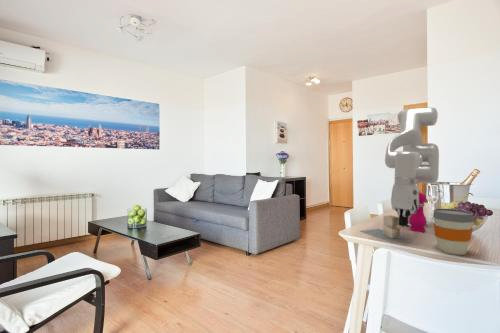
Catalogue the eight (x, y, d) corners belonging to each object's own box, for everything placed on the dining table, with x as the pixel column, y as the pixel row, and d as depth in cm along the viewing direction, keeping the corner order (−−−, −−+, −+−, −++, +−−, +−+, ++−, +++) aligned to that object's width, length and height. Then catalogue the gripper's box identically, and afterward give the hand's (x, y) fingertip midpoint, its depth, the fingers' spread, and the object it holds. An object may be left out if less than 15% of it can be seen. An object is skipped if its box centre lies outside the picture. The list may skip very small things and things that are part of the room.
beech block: (390, 235, 127) (391, 215, 126) (399, 238, 122) (400, 217, 122) (383, 236, 125) (383, 216, 125) (391, 239, 121) (392, 218, 120)
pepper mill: (420, 233, 131) (421, 190, 131) (405, 230, 138) (406, 188, 137) (429, 231, 135) (431, 189, 134) (414, 228, 141) (416, 188, 140)
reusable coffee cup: (459, 258, 100) (461, 216, 99) (424, 247, 111) (426, 209, 110) (479, 253, 105) (481, 213, 104) (444, 243, 116) (445, 207, 116)
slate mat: (378, 229, 138) (378, 228, 138) (413, 240, 120) (413, 239, 120) (358, 231, 134) (358, 230, 134) (392, 243, 116) (392, 242, 116)
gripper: (428, 183, 112) (426, 229, 112) (396, 179, 126) (395, 221, 126) (414, 183, 109) (412, 231, 110) (383, 180, 123) (382, 222, 124)
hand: (403, 225), depth 118 cm, fingers closed
